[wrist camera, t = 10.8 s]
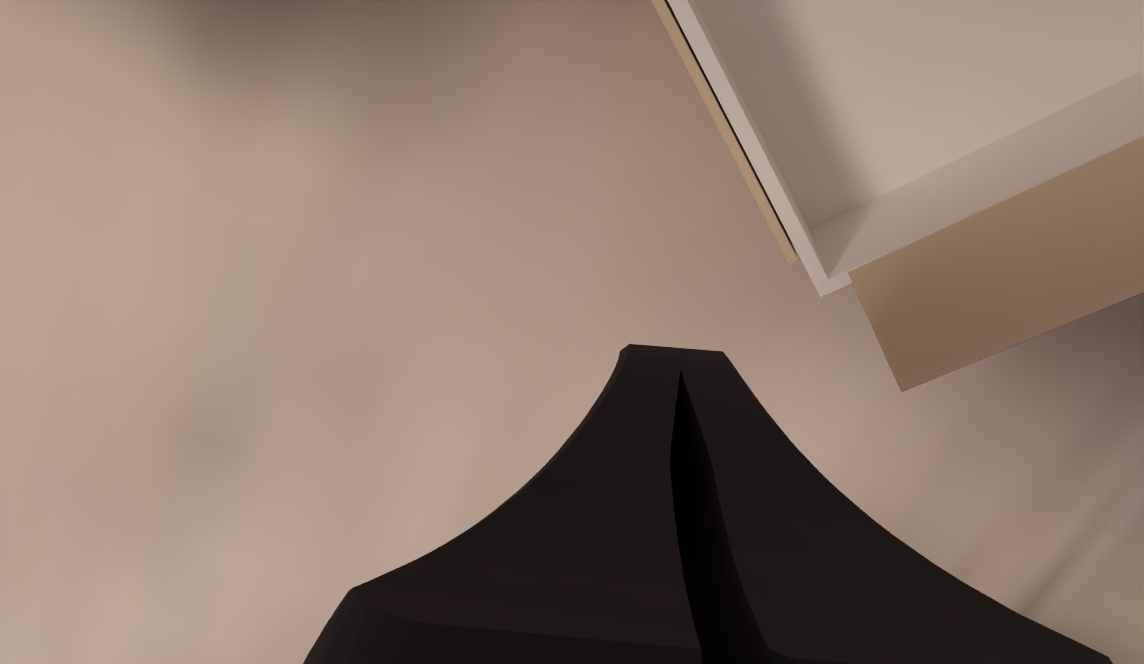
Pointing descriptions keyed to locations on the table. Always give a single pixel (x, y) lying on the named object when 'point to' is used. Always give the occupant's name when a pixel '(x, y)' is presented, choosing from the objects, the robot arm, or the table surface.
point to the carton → (906, 108)
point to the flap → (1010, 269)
